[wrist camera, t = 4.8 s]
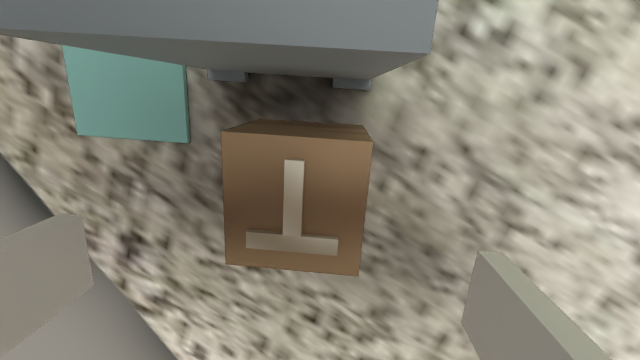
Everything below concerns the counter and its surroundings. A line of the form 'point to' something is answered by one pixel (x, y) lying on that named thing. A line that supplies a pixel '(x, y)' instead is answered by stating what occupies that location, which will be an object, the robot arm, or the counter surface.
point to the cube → (295, 195)
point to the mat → (127, 96)
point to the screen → (239, 34)
